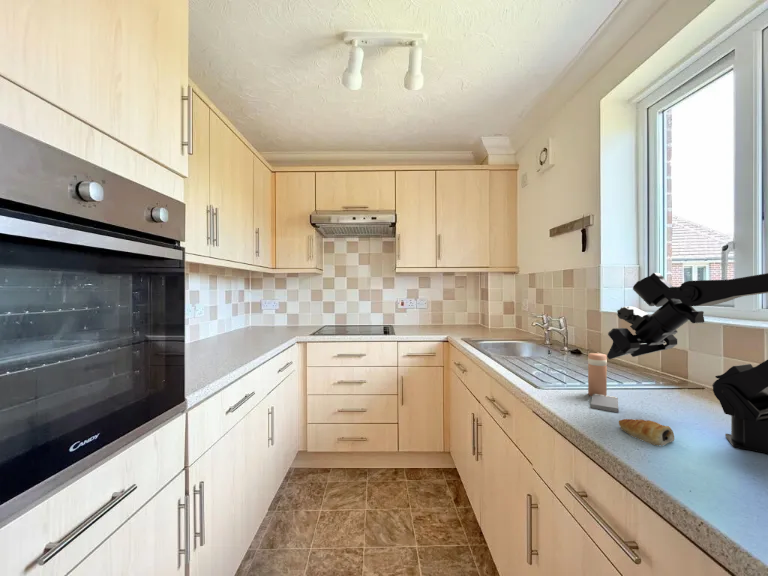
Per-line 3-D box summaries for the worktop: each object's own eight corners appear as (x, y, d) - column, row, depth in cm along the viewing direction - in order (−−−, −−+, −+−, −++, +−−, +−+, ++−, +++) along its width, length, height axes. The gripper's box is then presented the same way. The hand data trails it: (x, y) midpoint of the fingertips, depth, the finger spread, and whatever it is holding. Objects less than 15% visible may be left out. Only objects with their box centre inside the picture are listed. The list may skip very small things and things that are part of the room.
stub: (606, 398, 97) (606, 356, 97) (587, 396, 99) (587, 355, 99) (606, 394, 101) (607, 354, 101) (588, 391, 103) (588, 352, 103)
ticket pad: (618, 412, 86) (618, 407, 86) (590, 407, 90) (590, 403, 90) (617, 401, 95) (617, 397, 95) (592, 397, 98) (592, 393, 98)
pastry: (611, 430, 76) (611, 413, 76) (630, 425, 79) (630, 409, 79) (659, 449, 68) (659, 430, 68) (678, 442, 70) (678, 424, 70)
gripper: (664, 296, 91) (623, 331, 102) (615, 296, 85) (577, 334, 96) (700, 328, 84) (651, 363, 95) (649, 332, 78) (603, 369, 88)
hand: (620, 356), depth 94 cm, fingers open, 9 cm apart
